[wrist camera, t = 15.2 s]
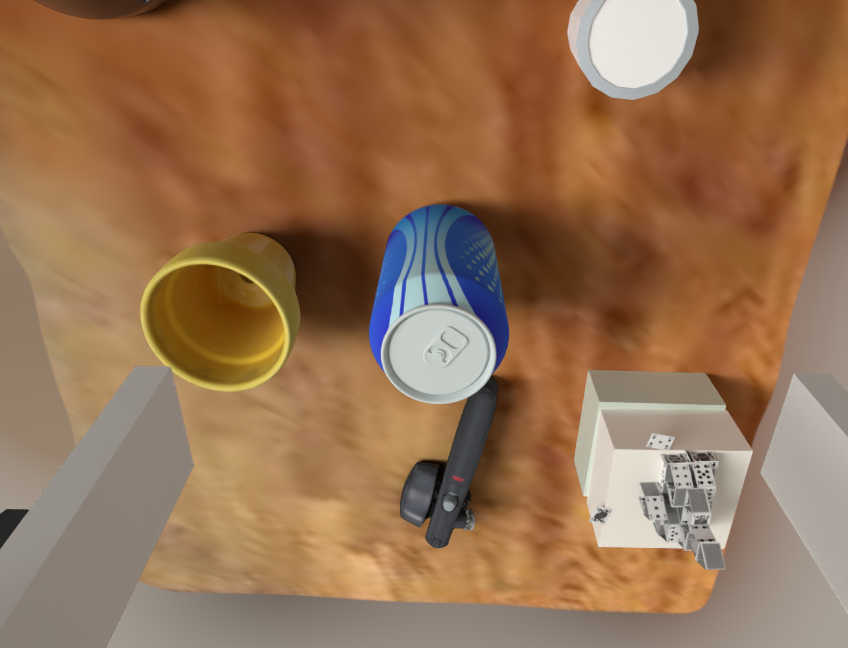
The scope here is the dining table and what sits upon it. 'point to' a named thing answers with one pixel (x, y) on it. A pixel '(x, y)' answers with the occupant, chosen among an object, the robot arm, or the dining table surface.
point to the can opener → (451, 474)
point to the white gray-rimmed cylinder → (632, 43)
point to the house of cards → (681, 502)
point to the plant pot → (224, 312)
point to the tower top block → (660, 469)
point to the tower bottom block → (636, 403)
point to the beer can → (439, 306)
